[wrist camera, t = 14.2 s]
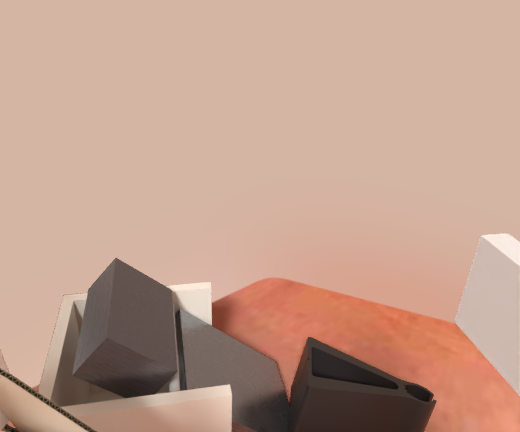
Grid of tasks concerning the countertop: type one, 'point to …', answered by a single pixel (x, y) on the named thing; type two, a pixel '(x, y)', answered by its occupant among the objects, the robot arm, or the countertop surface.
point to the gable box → (31, 408)
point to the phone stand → (353, 396)
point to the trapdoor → (171, 351)
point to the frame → (136, 408)
